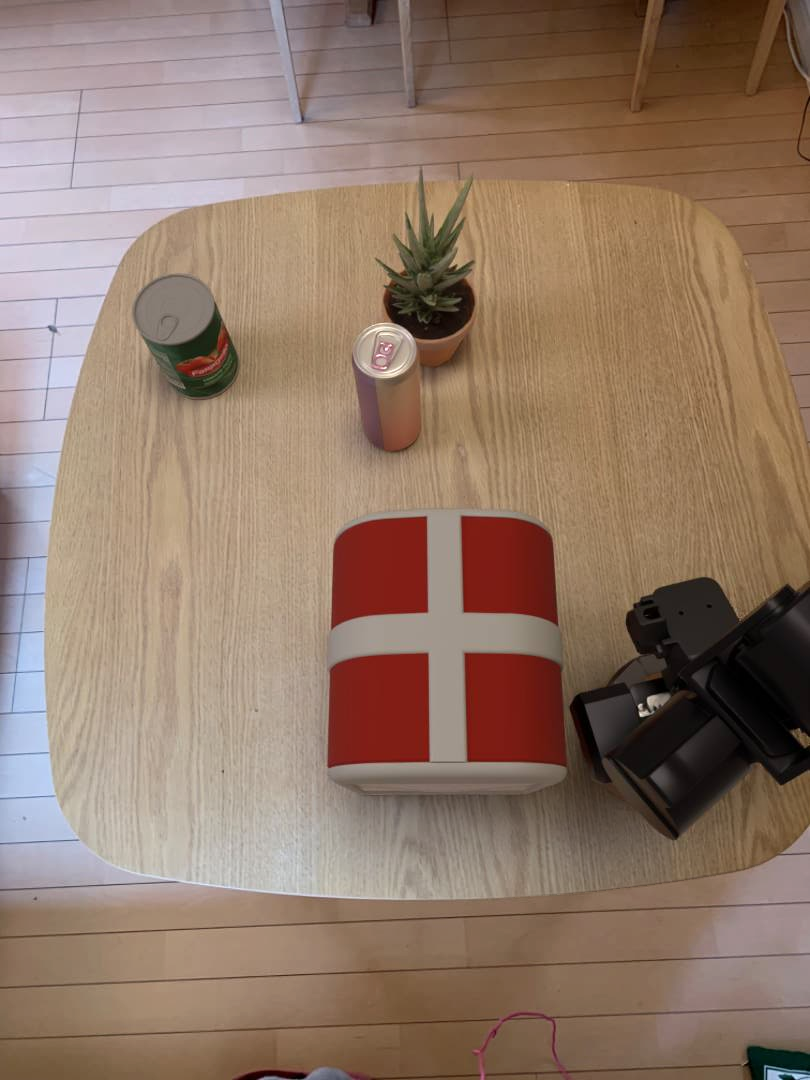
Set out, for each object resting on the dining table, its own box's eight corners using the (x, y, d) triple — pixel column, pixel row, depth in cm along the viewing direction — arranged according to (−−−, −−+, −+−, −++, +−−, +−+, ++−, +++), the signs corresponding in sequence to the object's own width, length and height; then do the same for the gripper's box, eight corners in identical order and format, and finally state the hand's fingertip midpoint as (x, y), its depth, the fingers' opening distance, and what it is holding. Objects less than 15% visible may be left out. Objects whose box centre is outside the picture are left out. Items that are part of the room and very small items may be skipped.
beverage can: (356, 445, 87) (341, 370, 73) (373, 395, 89) (362, 313, 75) (411, 460, 86) (407, 387, 72) (428, 409, 88) (427, 329, 74)
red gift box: (526, 603, 81) (570, 499, 56) (536, 795, 76) (589, 777, 50) (354, 604, 82) (318, 502, 56) (350, 796, 76) (309, 778, 50)
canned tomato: (181, 328, 92) (149, 264, 82) (249, 344, 91) (226, 281, 81) (155, 391, 90) (119, 333, 80) (225, 407, 89) (197, 351, 79)
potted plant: (477, 306, 92) (492, 129, 69) (470, 383, 89) (483, 226, 66) (386, 300, 93) (370, 122, 69) (376, 376, 90) (355, 217, 66)
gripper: (839, 535, 55) (753, 598, 70) (562, 604, 54) (534, 652, 69) (913, 703, 51) (805, 732, 66) (618, 780, 51) (575, 791, 65)
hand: (678, 722), depth 67 cm, fingers closed on pencil, 2 cm apart
